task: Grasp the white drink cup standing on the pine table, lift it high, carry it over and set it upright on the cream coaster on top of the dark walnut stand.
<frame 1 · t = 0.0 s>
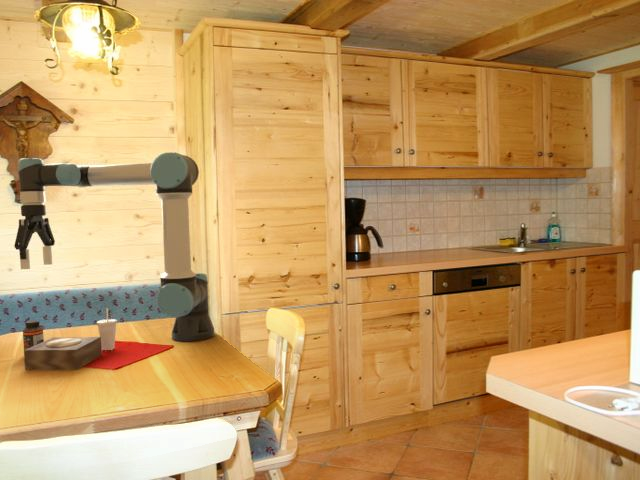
hand: (37, 266, 195), 28 cm above the table, fingers open, 13 cm apart
white drink cup: (108, 350, 191), on the table
supplement bottle: (34, 355, 186), on the table
stand: (65, 362, 177), on the table
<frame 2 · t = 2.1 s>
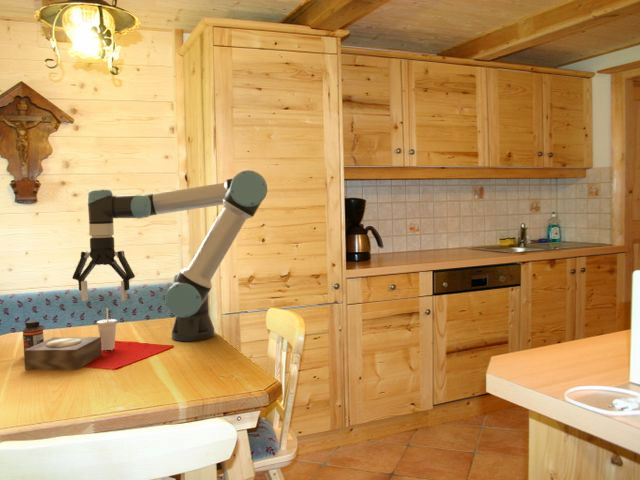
hand: (104, 300, 190), 17 cm above the table, fingers open, 13 cm apart
nothing on the table moved.
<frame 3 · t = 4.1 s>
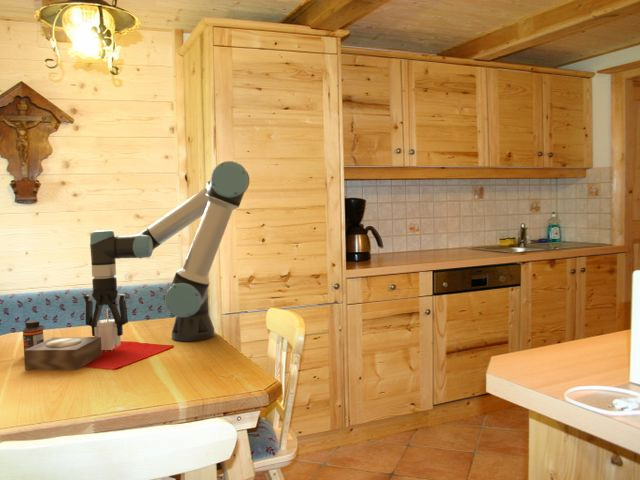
hand: (108, 345, 191), 1 cm above the table, fingers closed on white drink cup, 6 cm apart
white drink cup: (108, 350, 191), on the table, touching gripper
everything else where it was.
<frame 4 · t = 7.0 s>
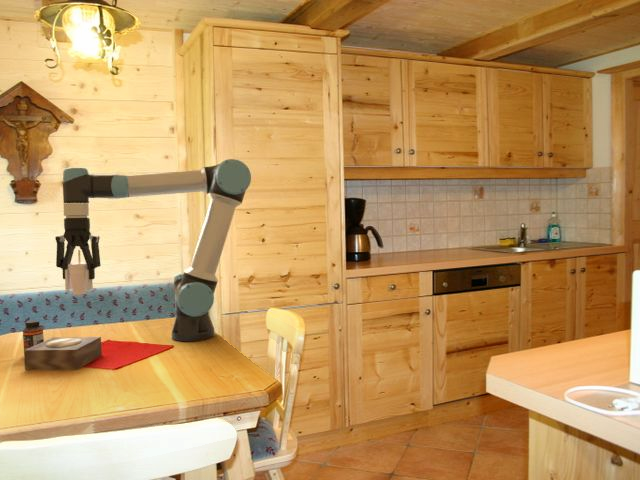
hand: (79, 289, 182), 22 cm above the table, fingers closed on white drink cup, 6 cm apart
white drink cup: (79, 294, 182), point 20 cm above the table, touching gripper
everything else where it was.
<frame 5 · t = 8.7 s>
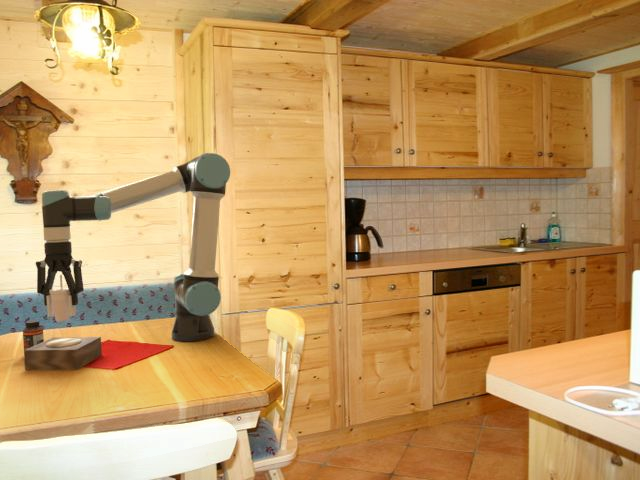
hand: (61, 315, 176), 15 cm above the table, fingers closed on white drink cup, 6 cm apart
white drink cup: (62, 320, 176), point 13 cm above the table, touching gripper
everything else where it was.
when the fingers open (10 cm above the table, at t = 10.3 s): white drink cup drops 2 cm, resting on stand.
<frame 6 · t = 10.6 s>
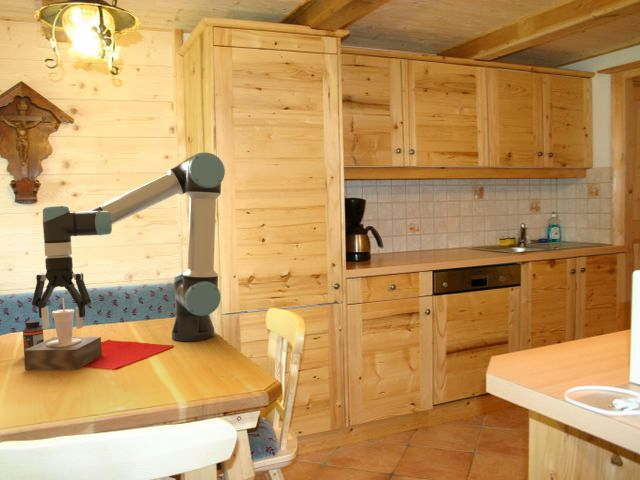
hand: (63, 328, 176), 11 cm above the table, fingers open, 10 cm apart
white drink cup: (65, 342, 176), point 6 cm above the table, touching stand
everything else where it was.
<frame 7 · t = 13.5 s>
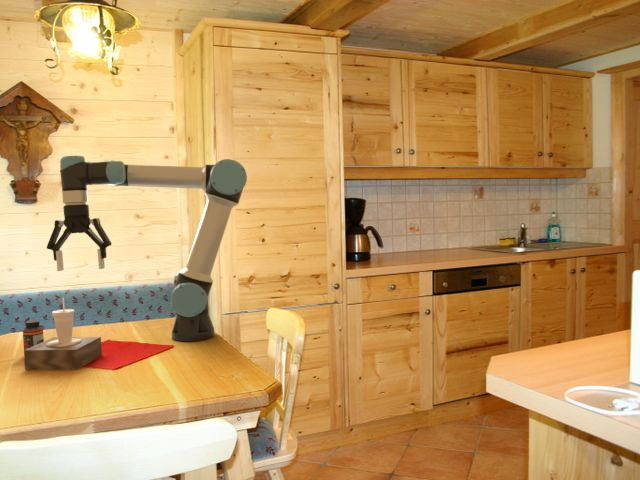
hand: (81, 269, 185), 28 cm above the table, fingers open, 13 cm apart
nothing on the table moved.
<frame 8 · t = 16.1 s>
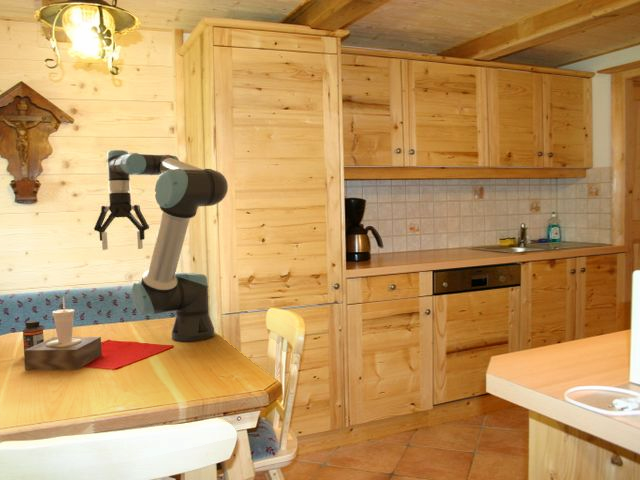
hand: (122, 249, 214), 32 cm above the table, fingers open, 13 cm apart
nothing on the table moved.
at the end: white drink cup inside the target area on the stand (0.4 cm from its centre), point 6.2 cm above the stand's base; white drink cup tilted 0°; the gripper is holding nothing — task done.
